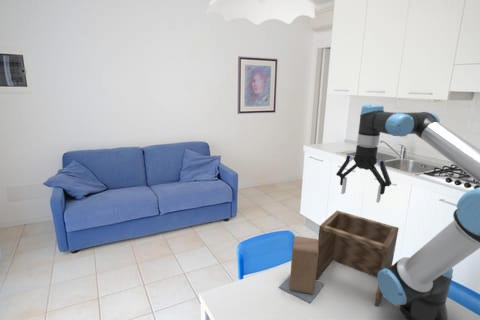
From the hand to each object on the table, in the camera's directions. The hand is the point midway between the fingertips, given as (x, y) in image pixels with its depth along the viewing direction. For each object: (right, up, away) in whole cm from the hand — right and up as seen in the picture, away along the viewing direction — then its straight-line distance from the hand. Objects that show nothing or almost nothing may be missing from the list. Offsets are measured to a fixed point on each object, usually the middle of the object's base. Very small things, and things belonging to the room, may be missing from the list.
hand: (360, 197), depth 117 cm
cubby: (0, -37, +10) cm, 39 cm away
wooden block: (-22, -38, +5) cm, 44 cm away
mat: (-22, -38, +5) cm, 45 cm away
